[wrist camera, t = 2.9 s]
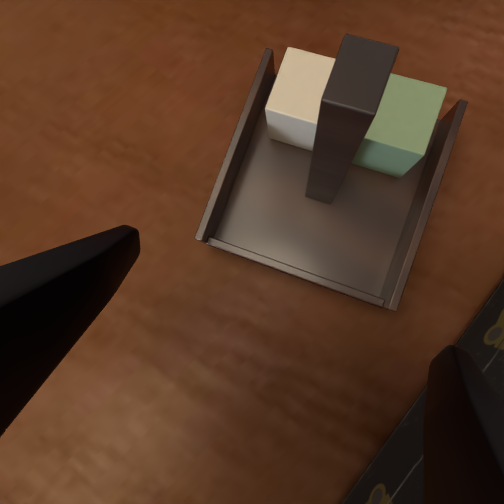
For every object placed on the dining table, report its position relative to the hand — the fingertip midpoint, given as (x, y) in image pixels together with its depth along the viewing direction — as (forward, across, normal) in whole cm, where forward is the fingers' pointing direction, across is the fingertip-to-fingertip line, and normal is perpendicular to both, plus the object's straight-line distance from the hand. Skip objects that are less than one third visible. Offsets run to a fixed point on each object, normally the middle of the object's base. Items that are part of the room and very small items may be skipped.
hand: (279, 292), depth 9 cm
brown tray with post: (+15, 0, +4) cm, 15 cm away
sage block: (+17, -3, +1) cm, 17 cm away
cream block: (+17, +3, +1) cm, 17 cm away
